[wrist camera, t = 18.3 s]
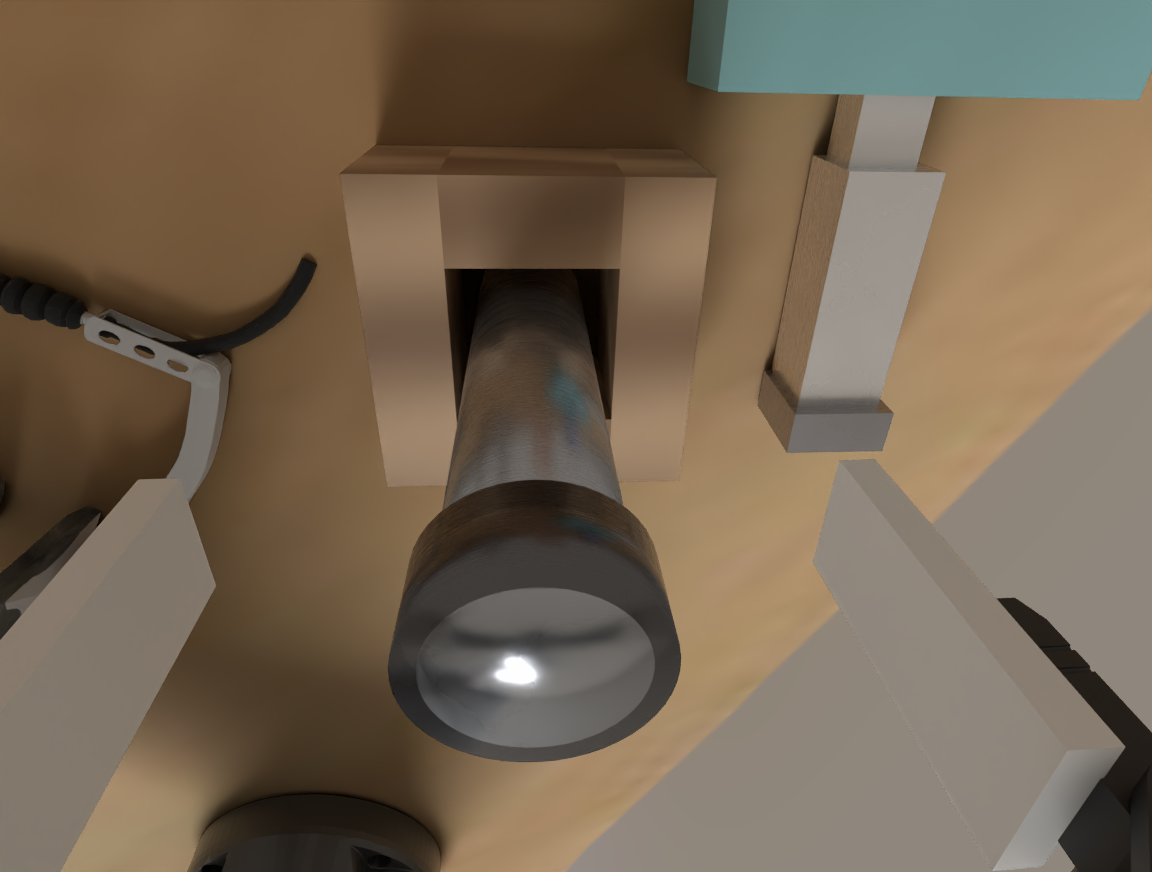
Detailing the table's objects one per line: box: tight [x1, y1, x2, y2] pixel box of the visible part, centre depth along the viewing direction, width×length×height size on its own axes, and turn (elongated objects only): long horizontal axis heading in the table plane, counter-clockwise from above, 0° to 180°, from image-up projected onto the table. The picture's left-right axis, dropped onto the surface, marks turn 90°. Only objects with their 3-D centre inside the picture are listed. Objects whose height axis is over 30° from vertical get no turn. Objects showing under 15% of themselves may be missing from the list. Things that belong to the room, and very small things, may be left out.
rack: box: [339, 145, 717, 487], centre depth 22 cm, size 10×10×5 cm
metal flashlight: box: [388, 269, 681, 762], centre depth 17 cm, size 4×4×17 cm
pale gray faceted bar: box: [758, 94, 946, 453], centre depth 23 cm, size 14×4×4 cm, turn 179°
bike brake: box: [0, 258, 317, 640], centre depth 24 cm, size 14×7×20 cm
